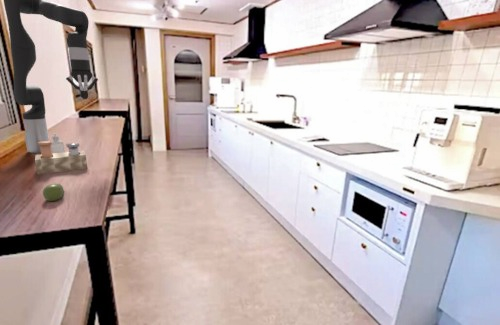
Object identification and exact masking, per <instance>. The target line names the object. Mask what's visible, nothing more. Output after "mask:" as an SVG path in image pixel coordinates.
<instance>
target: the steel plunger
mask: <svg viewBox="0 0 500 325" xmlns="http://www.w3.org/2000/svg"><path fill="white" fill-rule="evenodd" d="M65 146H66V148H68V152H69V154H70V155H78V154H79V151H80V150H79V147H80V143H79V142H70V143H66V144H65Z"/></svg>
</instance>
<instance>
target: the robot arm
mask: <svg viewBox="0 0 500 325" xmlns="http://www.w3.org/2000/svg"><path fill="white" fill-rule="evenodd" d="M3 5H4V11H5V14H6V20H7V24H8V30H9V31H8V32H9V41H10V43H9V44H10V53H11V59H12V67H13V68H12V69H13V96H14V100H15V102H16V103H17V104H18V105H19V106H31V108H30V109H28V110H27V111H25V112H23V113H22V119H23V123H24V124H23V125H24V128H25V133H24V134H23V136H24V140H25V146H26V147H25V148H26V151H27V152H26V153H33V154H37V153H40V154H41V149H40V146H38V142H43V141H50V137H49V132H48V124H47V119H46V105H45V95H44V92H43V90H42V88H40V87H39V86H38V85H37V86H36V85H27V79H28V78H27V77H28V75H29V73H30V72H31V70H32V68H33V67H34V65H35V63H36V61H37V53H36V52H37V50H36V46H35V45H36V44H35V42H34V41H33V39H32V37H31V36H30V34H29V33H28V31H27V30H26V29H25V27H24V24H23V22H22V17H21V14H24V15H40V16H43V17H45V18H46V19H49V20H51V21H55V22H57V23H61V24H62V25H64V26H69V27H73V28H74V29H75V30H74V32H69V33H68V34H67V44H68V55H69V56H68V57H69V62H70V70H71V71H70V75H69V76H67V77H66V79H65V80H66V81H67V82H68V83H70V85H72V87H74V89H75V90H79V93H80V98H81V99H83V100H87V99H88V98H89V92H88V91H90V90H92V89H93V88H94V87H95V85H96V84H97V83H98V81H99V79H98V77H95V76H94V75H93V73H92V70H91V61H90V54H89V51H88V43H87V38H88V30H89V22H90V21H89V18H88V15H87V13H86V12H84V11H83V10H80V9H77V8H71V7H68V6H63V5H62V4H58V3H56V2H51V1H47V0H3ZM74 80H75V81H76V83H78V85H77V84H75V82H74ZM90 80H91V82H90ZM89 82H90V84H89V86H88V83H89Z"/></svg>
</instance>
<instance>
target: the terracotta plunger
mask: <svg viewBox="0 0 500 325" xmlns="http://www.w3.org/2000/svg"><path fill="white" fill-rule="evenodd" d="M51 145H52V141H50V140H49V141H43V142H38V146H40V149H41V153H40V155H42V158H48V157H52V151H51Z"/></svg>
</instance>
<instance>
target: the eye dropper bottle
mask: <svg viewBox="0 0 500 325" xmlns="http://www.w3.org/2000/svg"><path fill="white" fill-rule="evenodd" d="M51 138H52V141H51V142H52V145H51V151H52V153H63V152H66V150H65V145H64V142H63V141H62V140H60V138H59V135H58V134H57V133H55V132H53V135H52V137H51Z"/></svg>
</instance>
